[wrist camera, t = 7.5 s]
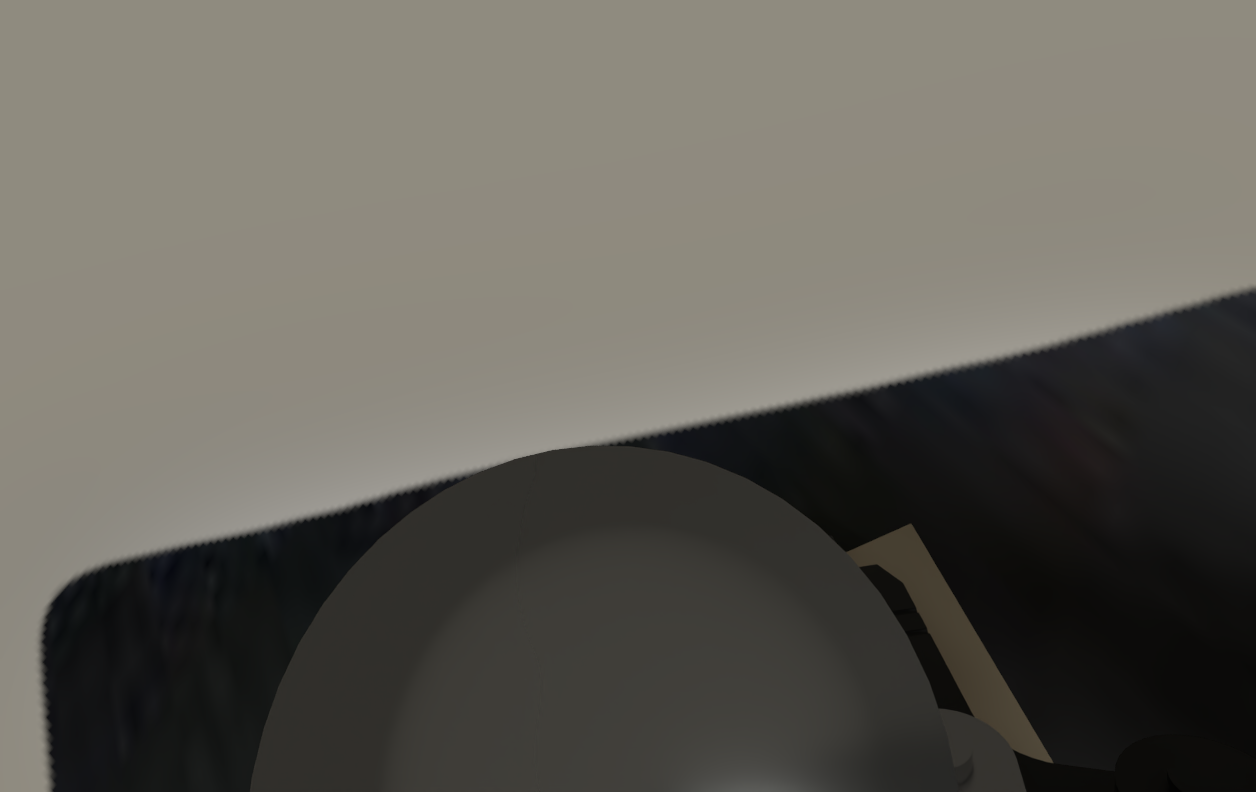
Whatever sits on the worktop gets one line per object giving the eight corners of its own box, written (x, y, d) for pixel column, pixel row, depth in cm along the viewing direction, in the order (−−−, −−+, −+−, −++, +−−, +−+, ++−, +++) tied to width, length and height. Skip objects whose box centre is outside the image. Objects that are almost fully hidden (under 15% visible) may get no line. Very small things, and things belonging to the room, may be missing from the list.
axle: (764, 657, 18) (752, 353, 4) (833, 806, 16) (1141, 1063, 3) (636, 715, 18) (203, 593, 4) (693, 869, 16) (315, 1447, 3)
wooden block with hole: (891, 554, 30) (911, 523, 26) (1015, 771, 26) (1060, 775, 22) (505, 726, 29) (463, 722, 25) (577, 969, 26) (542, 1010, 22)
